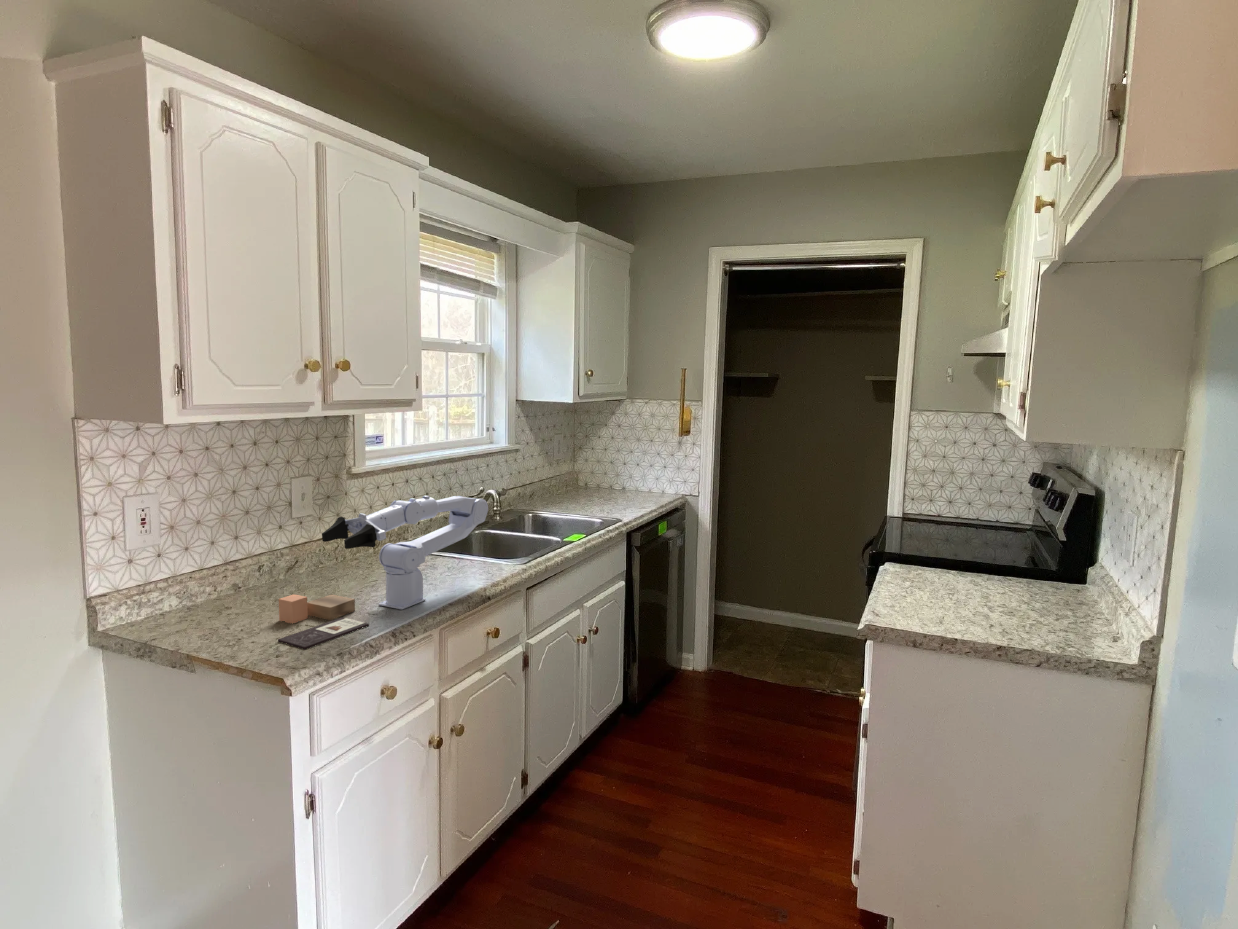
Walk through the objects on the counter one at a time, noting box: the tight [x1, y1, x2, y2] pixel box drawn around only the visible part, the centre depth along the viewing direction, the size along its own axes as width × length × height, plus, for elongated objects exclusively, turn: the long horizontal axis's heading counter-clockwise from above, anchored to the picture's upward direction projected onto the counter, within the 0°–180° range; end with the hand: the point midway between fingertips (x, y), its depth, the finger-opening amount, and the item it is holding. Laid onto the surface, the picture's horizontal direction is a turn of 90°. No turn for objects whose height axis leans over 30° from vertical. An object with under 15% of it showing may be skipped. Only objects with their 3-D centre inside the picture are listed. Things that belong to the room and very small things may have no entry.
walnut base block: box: [307, 594, 356, 621], centre depth 184 cm, size 8×8×4 cm
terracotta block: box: [278, 593, 309, 625], centre depth 179 cm, size 4×4×6 cm
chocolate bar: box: [277, 616, 370, 651], centre depth 170 cm, size 9×1×18 cm
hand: (334, 541), depth 173 cm, fingers open, 7 cm apart
